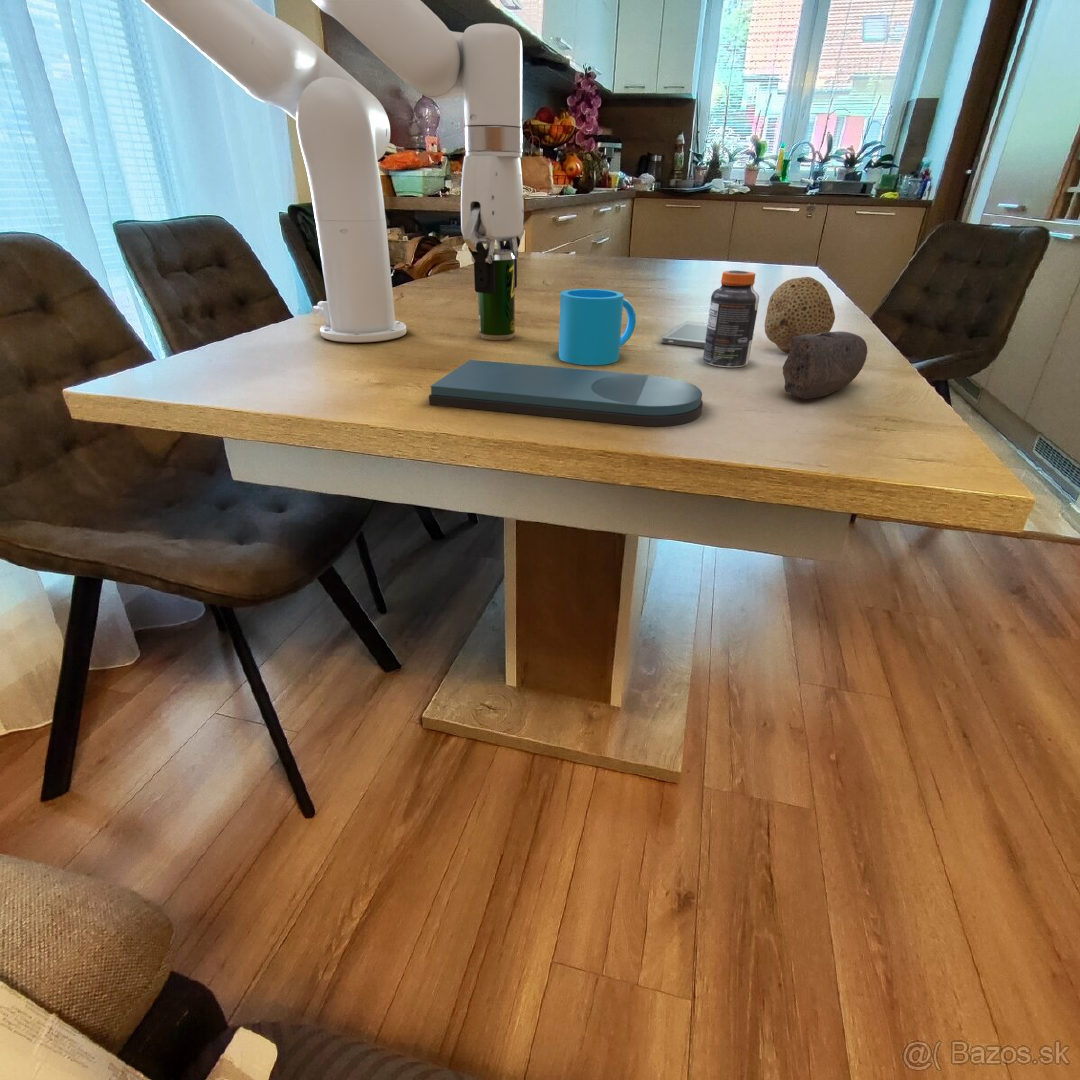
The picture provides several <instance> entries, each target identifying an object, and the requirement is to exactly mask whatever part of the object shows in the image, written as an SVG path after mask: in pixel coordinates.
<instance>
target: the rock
mask: <svg viewBox="0 0 1080 1080" xmlns="http://www.w3.org/2000/svg"><path fill="white" fill-rule="evenodd" d="M867 355H868V346H867V342H866V341H865V339H863V338H862V337H861V336H860V335H858V334H856V333H852V332H848V331H830V332H821V333H817V334H815V335H813V334H807V335H802V336H798V337H794V338H793V339H792V343H791V351H790V352H789V353H788V356H787V358H786V360H785V361H784V363H783V365H782V375H783V378H784V390H785V392H786V393H788V394H790V396H793V397H796V398H800V399H803V400H804V399H814V398H817V399H818V398H821V397H822V398H823V397H825V396H828V395H830V394H832V393H835V392H837V391H839V390H841V389H843V388H845V387H846V386H848V385H850V384H851V383H852V382H853V381H854V380H855V379H856V377H857V376H858V375H859V374H860V373H861V371H862V369H863V367H864V365H865V363H866V360H867Z"/></svg>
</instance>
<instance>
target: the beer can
mask: <svg viewBox="0 0 1080 1080" xmlns="http://www.w3.org/2000/svg"><path fill="white" fill-rule="evenodd" d="M512 253H513V250H509V249H498V248H494V253H493V260H492V263H495V268H496V292H495V293H494V294H488V293H478V292H477V298H478V300H477V301H478V303H477V304H478V333H479V335H480V338H481V339H484V340H488V341H507V340H511V339H513V337H514V335H515V333H516V331H515V330H516V329H515V328H516V327H515V326H516V321H515V320H516V318H515V316H516V315H515V314H516V313H515V309H516V308H515V307H516V306H515V305H516V303H515V301H516V300H515V296H516V295H515V294H516V293H515V291H516V288H515V264H514V256H513V254H512Z"/></svg>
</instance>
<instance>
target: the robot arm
mask: <svg viewBox="0 0 1080 1080" xmlns="http://www.w3.org/2000/svg"><path fill="white" fill-rule="evenodd" d="M141 1H142V2H143V3H144V4H145V5H146V7H148V8H149V9H151V10H152V11H153V12H154V13H155V14H156V15H157V16H158V17H160V19H162V20H163V21H164V22H165V23H166V24H167V25H169V26H170V27H171V28H173V30H175V31H176V32H177V33H178V34H180V35H181V37H183V38H184V39H185V40H186V41H187V42H189V43H190V45H192V46H193V47H194V48H196V50H198V51H199V52H200V53H201V54H202V55H203V56H205V57H206V58H207V59H208V60H209V61H211V62H212V63H213V64H214V65H215V66H217V67H218V68H219V69H220V70H221V71H223V73H224V74H226V75H227V76H228V77H230V79H232V80H233V81H234V82H235V83H236V84H237V85H238V86H240V88H241V89H243V90H244V91H245V92H246V93H247V94H248V95H249V96H251V97H252V98H254V99H256V100H258V101H259V102H261V103H263V104H266V105H270V106H273V107H276V108H279V109H281V110H282V111H284V112H285V113H286V114H288V116H289V117H291V118H292V119H293V120H295V121H296V122H295V123H296V124H295V125H296V131H297V137H298V143H299V146H300V150H301V154H302V158H303V161H304V165H305V169H306V174H307V179H308V184H309V189H310V195H311V201H312V209H313V215H314V220H315V226H316V233H317V239H318V248H319V254H320V261H321V268H322V276H323V283H324V289H325V296H326V300H325V301H323V300H319V301H318V302H317V304H316V305H314V306H313V307H312V308H311V309H312V310H311V311H312V314H313V316H318V317H323V318H324V324H323V325H321V326H320V327H319V331H320V336H321V337H322V338H323V339H326V340H328V341H333V342H339V343H375V342H384V341H390V340H395V339H399V338H401V337H403V336H405V335H406V334H407V331H408V330H407V324H405V323H404V322H402V321H399V320H396V315H395V304H394V293H393V292H394V291H393V283H392V272H391V261H390V251H389V250H390V249H389V239H388V230H387V228H388V227H387V219H386V210H385V199H384V192H383V185H382V180H381V179H382V178H381V173H380V168H379V162H378V161H380V159H381V158H383V156H384V155H385V154H386V152H387V150H388V149H389V146H390V142H391V124H390V120H389V117H388V114H387V112H386V110H385V108H384V106H383V105H382V104H381V102H380V101H379V99H378V98H377V97H376V96H375V95H374V94H373V93H371V91H370V90H368V89H367V88H366V87H365V86H364V85H363V84H361V83H360V82H359V81H358V80H357V79H356V78H355V77H353V76H352V75H351V74H350V73H349V72H347V70H346V69H344V68H343V67H342V66H341V65H339V64H338V63H337V62H336V61H335V60H334V59H333V57H332V58H331V57H330V56H329V55H328V54H327V53H326V52H325V51H324V50H322V48H320V46H318V45H317V44H315V42H313V41H312V40H311V39H310V38H308V36H306V35H305V34H304V33H302V32H301V31H299V30H298V29H296V28H295V27H293V26H291V25H290V24H288V23H287V22H285V21H284V20H282V19H280V18H279V17H276V16H274V15H272V14H270V13H269V12H267V11H265V10H264V9H262V8H261V7H260V6H259V5H257V4H256V3H255V2H254V1H252V0H141ZM310 1H311V2H312V3H313V4H314V5H316V6H317V7H318V9H320V10H321V11H322V12H323V13H324V14H327V15H329V16H331V17H332V18H333V19H334V20H336V21H337V22H338V23H340V24H341V25H342V26H343V27H344V28H345V29H346V30H347V31H348V32H350V34H352V35H353V36H354V38H356V39H357V40H358V41H359V42H360V43H361V44H362V45H364V46H365V47H366V48H367V49H368V50H369V51H370V52H372V54H374V55H375V56H376V57H377V58H378V60H380V61H381V62H383V63H384V64H385V66H387V67H388V68H389V69H390V70H391V71H392V72H393V73H394V74H395V75H396V76H398V77H399V78H400V79H401V80H402V81H403V82H404V83H406V84H407V85H408V86H409V87H411V88H412V89H413V90H415V91H417V92H418V93H419V94H420V95H422V96H423V97H426V98H429V99H432V100H446V99H453V98H458V97H463V115H464V116H463V117H464V118H463V119H464V142H465V143H464V144H465V155H464V156H463V161H462V171H461V184H460V185H461V187H460V190H461V192H460V229H461V234H462V240H463V241H464V243H465V244H466V246H467V247H468V251H469V253H470V255H471V261H472V263H473V274H474V275H473V277H474V291H475V292H476V293H477V294H478V293H488V294H494V293H495V292H496V268H495V263H492V260H493V253H494V249H495V246H496V249H509V250H513V253H512V254H513V256H514V264H515V289H516V288H517V287H518V258H519V255H520V254H519V253H520V252H519V247H520V246H521V240H522V238H523V236H524V234H525V227H524V217H525V215H524V213H525V212H524V211H525V210H524V188H523V187H524V185H523V172H522V171H523V170H522V164H521V158H523V41H522V37H521V34H520V32H519V31H518V30H517V29H516V28H515V27H513V26H510V25H509V24H503V23H494V22H481V23H476V24H472V25H470V26H468V27H466V29H464V31H463V32H460V31H452V30H450V29H449V28H448V26H447V25H446V24H445V23H444V21H442V19H441V18H440V17H439V16H438V15H437V14H436V13H434V12H433V11H432V9H430V7H428V6H427V4H425V3H424V2H423V1H422V0H310ZM495 244H496V245H495ZM484 245H486V246H484ZM485 247H486V248H485Z"/></svg>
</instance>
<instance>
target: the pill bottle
mask: <svg viewBox="0 0 1080 1080" xmlns="http://www.w3.org/2000/svg"><path fill="white" fill-rule="evenodd" d="M755 281H756V272H753V271H746V270H724V271H722V274H721V279H720V283H721V286H720V287H719V288H716V289H715V290H714V291H713V292H712V293H711V296H710V303H709V311H708V316H707V317H708V318H707V323H708V325H707V332H706V339H705V347H704V348H703V355H702V361H703V362H705V363H706V364H708V365H710V366H714V367H720V368H741V367H744V366H747V365H748V364H749V361H750V355H751V349H752V344H753V338H754V332H755V327H756V321H757V315H758V310H759V309H758V308H759V303H760V294H759V293H758V291H756V290H755V289H754V285H755Z"/></svg>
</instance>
